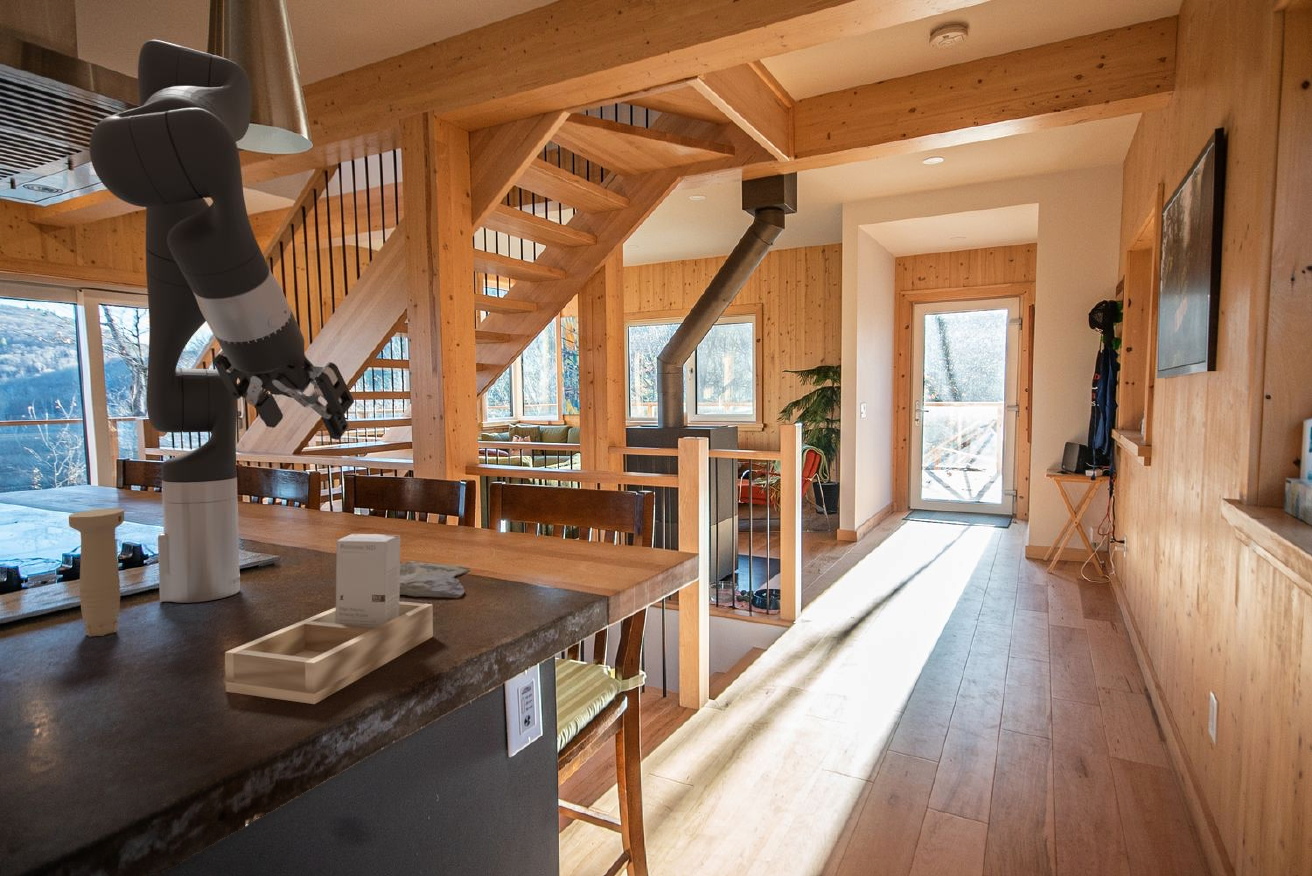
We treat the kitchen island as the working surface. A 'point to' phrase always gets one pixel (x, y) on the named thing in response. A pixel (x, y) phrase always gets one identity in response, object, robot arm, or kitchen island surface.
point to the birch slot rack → (322, 654)
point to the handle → (99, 569)
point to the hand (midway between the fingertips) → (307, 428)
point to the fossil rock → (431, 580)
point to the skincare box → (367, 579)
